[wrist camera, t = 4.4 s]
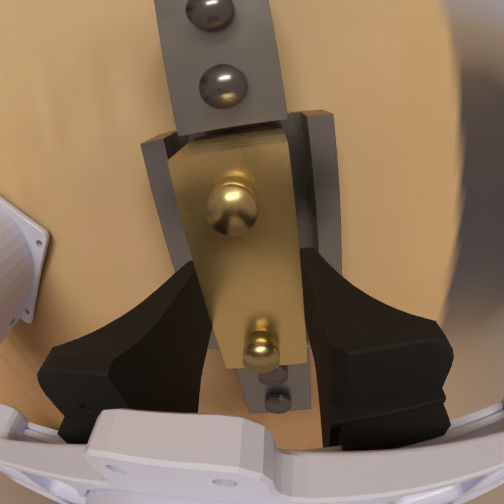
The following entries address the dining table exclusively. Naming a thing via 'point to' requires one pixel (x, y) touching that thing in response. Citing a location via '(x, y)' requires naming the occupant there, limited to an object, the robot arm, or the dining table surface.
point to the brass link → (245, 243)
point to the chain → (238, 118)
